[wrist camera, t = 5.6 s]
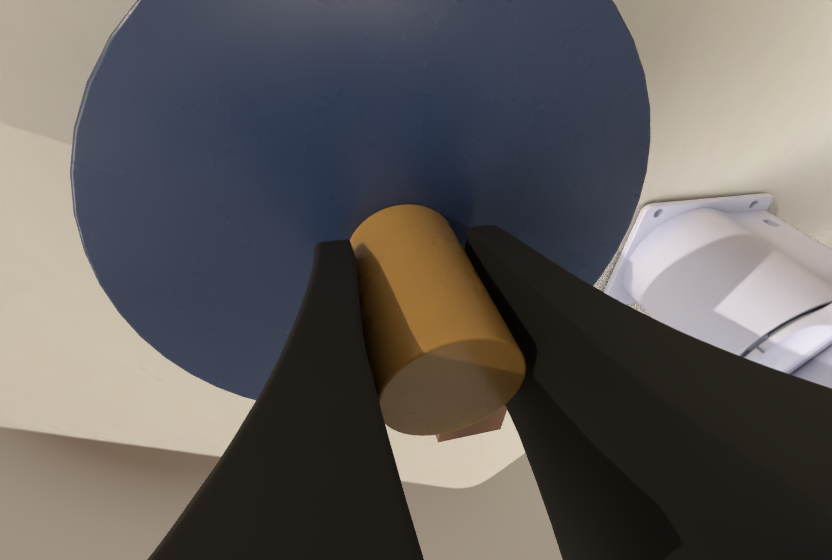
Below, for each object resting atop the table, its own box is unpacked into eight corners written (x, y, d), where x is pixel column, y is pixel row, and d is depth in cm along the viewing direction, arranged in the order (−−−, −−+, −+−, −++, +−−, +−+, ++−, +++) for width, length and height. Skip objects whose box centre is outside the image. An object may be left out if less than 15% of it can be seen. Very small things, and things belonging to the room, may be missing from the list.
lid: (717, -82, 8) (1102, -83, 4) (550, 350, 16) (634, 481, 12) (-92, -149, 5) (-983, -314, 2) (195, 413, 13) (164, 605, 10)
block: (487, 337, 29) (513, 390, 26) (477, 377, 32) (500, 429, 28) (425, 347, 28) (444, 403, 25) (420, 387, 31) (438, 442, 27)
